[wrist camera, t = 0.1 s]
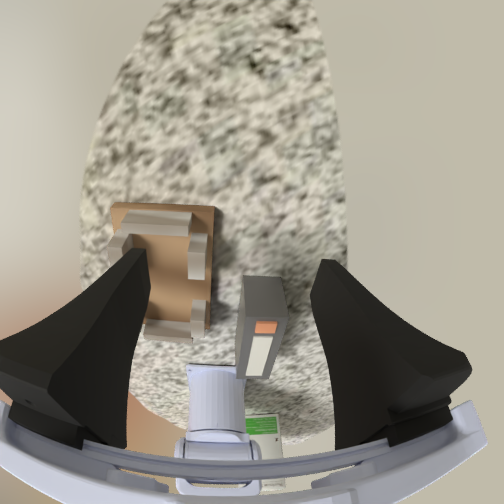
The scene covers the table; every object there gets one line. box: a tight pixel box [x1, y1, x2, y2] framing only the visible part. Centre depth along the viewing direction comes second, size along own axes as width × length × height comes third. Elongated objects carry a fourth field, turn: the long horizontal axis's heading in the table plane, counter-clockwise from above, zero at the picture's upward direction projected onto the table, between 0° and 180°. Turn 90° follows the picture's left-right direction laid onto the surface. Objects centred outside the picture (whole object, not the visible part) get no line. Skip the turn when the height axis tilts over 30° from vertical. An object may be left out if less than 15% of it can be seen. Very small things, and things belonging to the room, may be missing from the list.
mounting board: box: [107, 202, 215, 344], centre depth 22 cm, size 13×8×4 cm, turn 173°
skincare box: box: [238, 414, 285, 491], centre depth 40 cm, size 8×7×16 cm
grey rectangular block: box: [235, 275, 289, 379], centre depth 25 cm, size 10×3×5 cm, turn 173°
